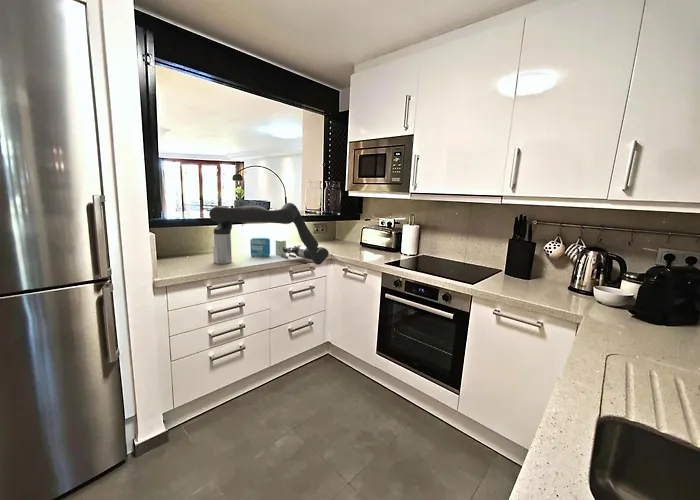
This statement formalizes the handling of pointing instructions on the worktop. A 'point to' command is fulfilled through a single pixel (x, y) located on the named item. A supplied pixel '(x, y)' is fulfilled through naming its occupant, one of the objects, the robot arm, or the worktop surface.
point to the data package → (260, 247)
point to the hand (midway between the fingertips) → (288, 248)
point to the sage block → (280, 247)
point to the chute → (287, 257)
